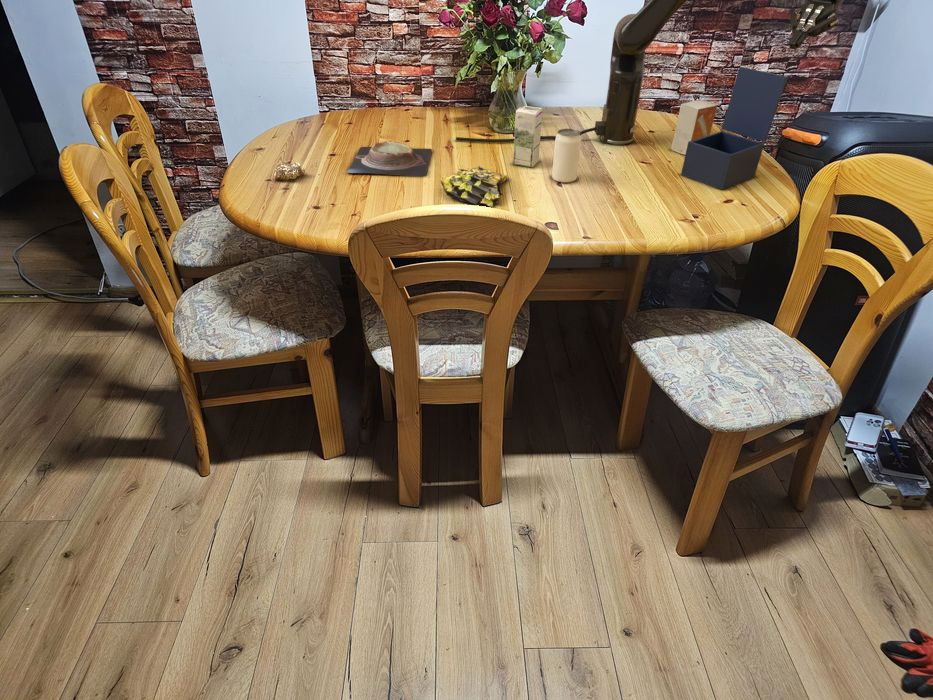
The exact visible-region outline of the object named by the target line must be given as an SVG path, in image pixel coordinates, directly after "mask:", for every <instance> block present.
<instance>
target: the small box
mask: <svg viewBox="0 0 933 700" xmlns="http://www.w3.org/2000/svg"><path fill="white" fill-rule="evenodd" d="M717 108H718V104H715V103H713V102H709V101H706V100H702V99H697V100H691V101H687V102H684V103H681V104H680V108H679V111H678V116H677V121H676V125H675V130H674V135H673V139H672V143H671V148H670V150H671V151H673V152H675V153H678V154H680V155H684V156H685V154H686V150H687V145H688V142H689V141H692V140H695V139H698V138H701V137H705V136H708V135H711V132H712V128H713V124H714V121H715V116H716V113H717Z"/></svg>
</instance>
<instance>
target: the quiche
mask: <svg viewBox="0 0 933 700" xmlns="http://www.w3.org/2000/svg"><path fill="white" fill-rule="evenodd" d="M432 153H433V150H432V148H412V147H411V146H410V145H407V144H405V143H403V142H396V141H395V142H394V141H391V140H385V141H381V142H378V143H375V144H373V145H372V146H360V147H359V148H358V151H357V153H356V155H355V158H354V159H353V161H352V163H351V164H350V165H349V168H348V169H347V171H346V173H347V174H376V175H390V176H391V175H392V176H402V177H403V176H404V177H406V176H407V177H424V176H426V175H427V173H428V167H429V162H430V159H431V156H432Z"/></svg>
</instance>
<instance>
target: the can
mask: <svg viewBox="0 0 933 700" xmlns="http://www.w3.org/2000/svg"><path fill="white" fill-rule="evenodd" d="M580 132H581V131H580V130H578V129H575V128H560V129H558V130H557V134H556V135H555V136H556V139H554V150H553V160H552V161H553V162H552V169H551V170H552V171H551V178H552V179H553V180H554V181H555V182H558V183H561V184H570V183H574V182H575V181H576V180H577V179H578V171H579V164H580V155H581V147H582V146H581V145H582V137H581V136H582V135H581V136H580Z"/></svg>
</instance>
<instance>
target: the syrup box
mask: <svg viewBox="0 0 933 700" xmlns="http://www.w3.org/2000/svg"><path fill="white" fill-rule="evenodd" d="M542 120H543V107H536V106H529V105H521V106H520V107H518V108H517V109H516V110H515V120H514V137H513V139H514V142H513V159H512V164H513V165H515V166H520V167H525V168H534V166H536V164H538V163H539V160H540V148H541V147H540V146H541V140H540V136H542V135H541V134H542V133H541V132H542V122H543V121H542Z"/></svg>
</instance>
